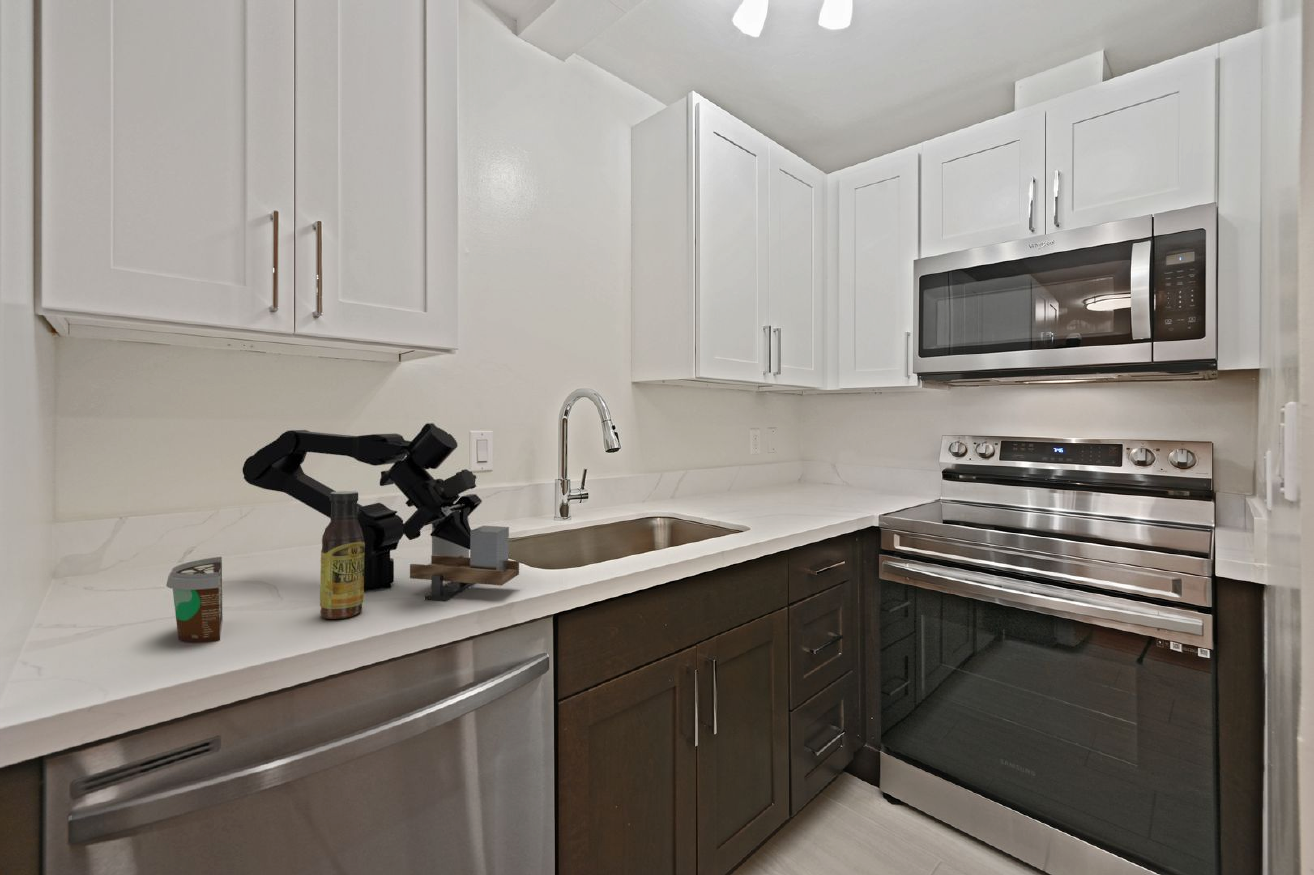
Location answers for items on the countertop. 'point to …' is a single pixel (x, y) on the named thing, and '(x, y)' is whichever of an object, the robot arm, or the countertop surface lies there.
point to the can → (447, 547)
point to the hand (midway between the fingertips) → (475, 548)
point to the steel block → (489, 548)
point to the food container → (198, 599)
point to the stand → (445, 589)
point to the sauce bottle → (342, 559)
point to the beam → (462, 571)
